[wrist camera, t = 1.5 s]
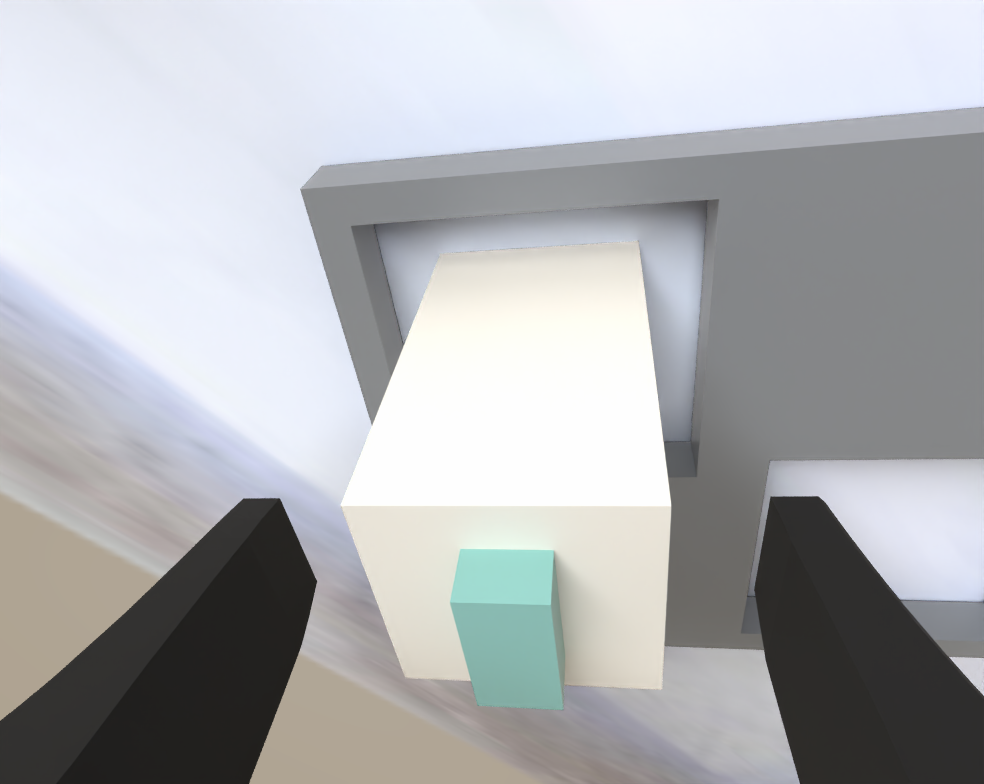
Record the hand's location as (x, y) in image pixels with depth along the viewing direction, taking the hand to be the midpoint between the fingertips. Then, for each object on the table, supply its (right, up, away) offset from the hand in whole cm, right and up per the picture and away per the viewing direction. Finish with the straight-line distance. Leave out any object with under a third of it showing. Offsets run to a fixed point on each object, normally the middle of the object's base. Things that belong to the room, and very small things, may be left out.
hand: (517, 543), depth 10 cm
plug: (+1, +4, +5) cm, 6 cm away
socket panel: (+5, +1, +6) cm, 8 cm away
